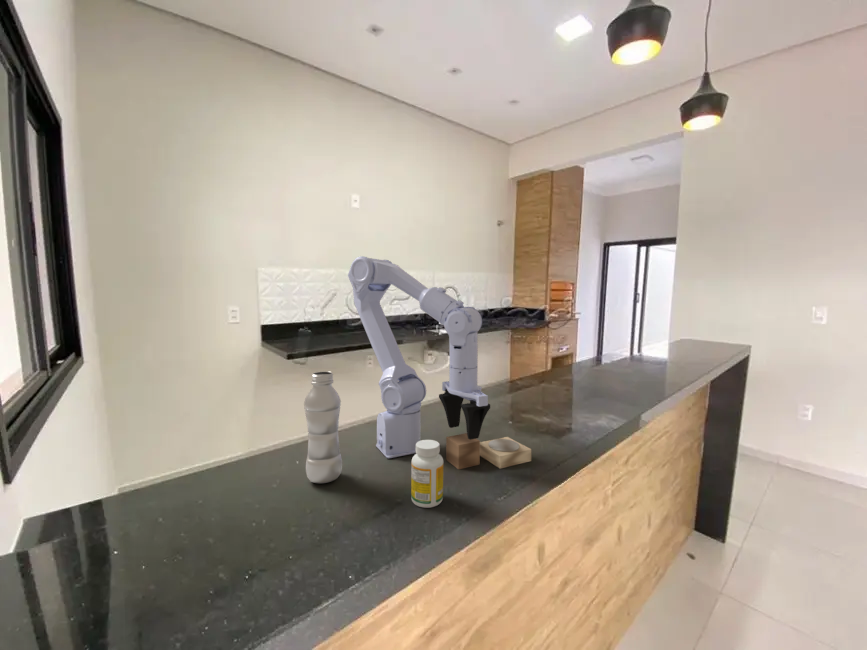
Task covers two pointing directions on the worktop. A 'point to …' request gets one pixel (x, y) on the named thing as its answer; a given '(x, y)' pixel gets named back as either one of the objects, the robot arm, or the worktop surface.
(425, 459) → the supplement bottle
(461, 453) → the walnut cube
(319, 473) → the plastic bottle
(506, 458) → the base block
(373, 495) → the worktop surface
